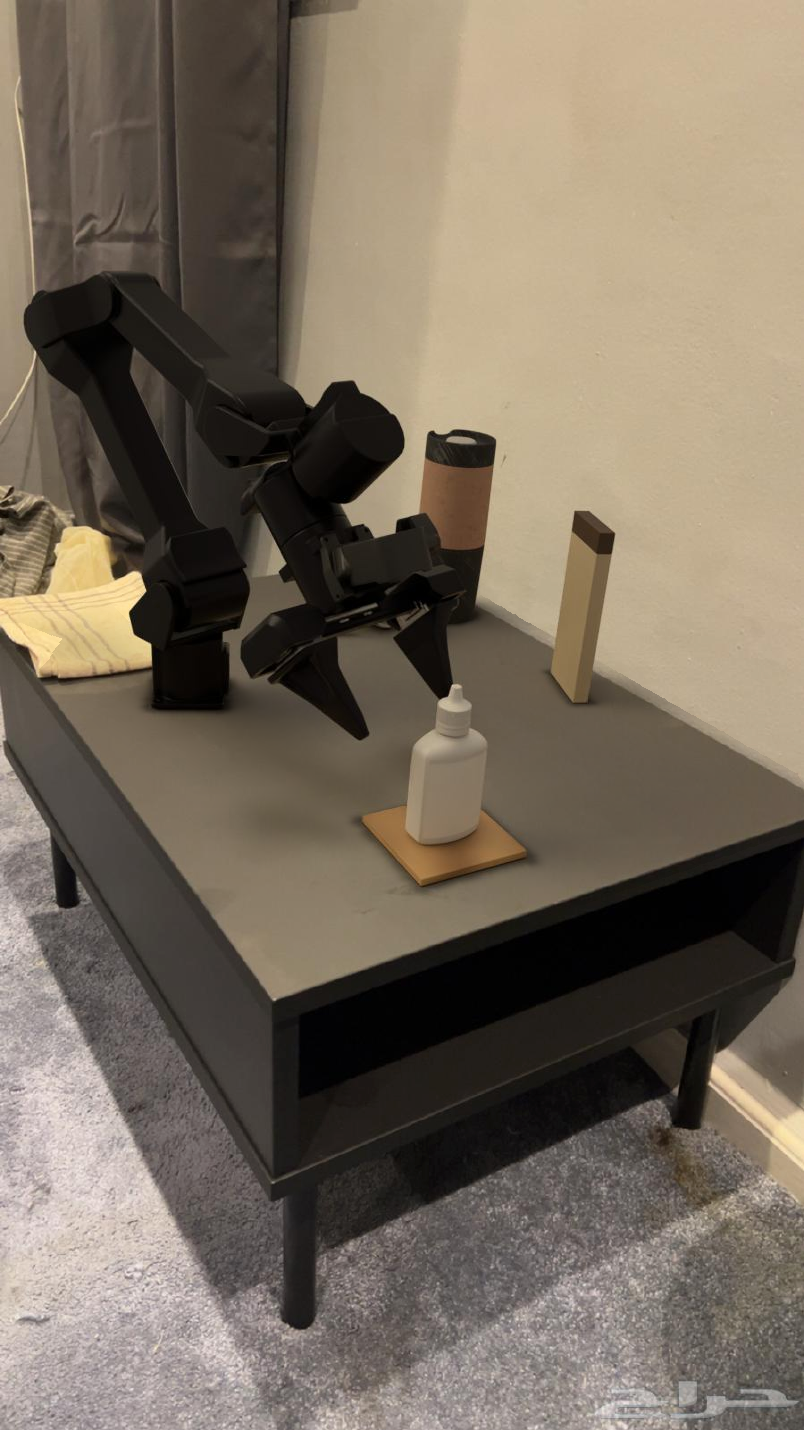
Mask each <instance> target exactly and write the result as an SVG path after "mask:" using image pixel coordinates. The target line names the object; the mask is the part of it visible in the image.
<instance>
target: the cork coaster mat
mask: <svg viewBox="0 0 804 1430" xmlns="http://www.w3.org/2000/svg"><path fill="white" fill-rule="evenodd" d="M406 813H407V804H405V805H401V806H397V807H393V808H389V809H385V810H380V811H377V812H371V813H368V814H367V813H366V814H363V815H362V823H363V824H364V826H365V827H367V829H368V830H369V831H370V832H371V833H372V834H373V835H374V836H375V838H377V840H378V841H379V842H380V843H381V844H382V845H383V847H385V848H386V849H387V851H388V852H389V853H390V854H391V855H392V856H393V858H395V859H396V860H397V861H398V863H399V864H400V865H401V866H402V867H403V868H404V869H405V870H406V871H407V872H408V874H409V875H410V876H411V877H412V879H414V880H415V882H417V884H418V885H419V886H420V887H425V886H427V885H430V884H434V883H435V884H436V883H438V882H441V881H445V880H449V879H452V878H456V877H459V876H464V875H467V874H469V873H473V872H477V871H481V870H484V869H489V868H491V867H495V866H498V865H502V864H507V863H509V862H513V861H516V860H521V859H524V858H527V853H528V850H527V849H526V848H525V847H524V846H523V845H522V844H520V843H519V842H518V840H516V838H514V837H513V836H511V834H509V833H508V832H507V831H506V830H505V829H504V828H503V827H501V825H499V824H498V823H497V822H496V821H495V820H494V819H493V818H492V817H491V816H489V814H488V813H487V812H485V811H484V810H483V809H482V808H481V810H480V818H479V824H478V827H477V828H476V830H474V831H473V832H472V833H471V834H469V835H467V836H465V837H463V838H461V839H459V840H456V841H453V842H449V843H443V844H434V845H424V844H420V843H418V842H417V841H416V840H414V839H413V838H412V837H411V836H410V835H409V834H408V833H407V831H406V828H405V825H406Z"/></svg>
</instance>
